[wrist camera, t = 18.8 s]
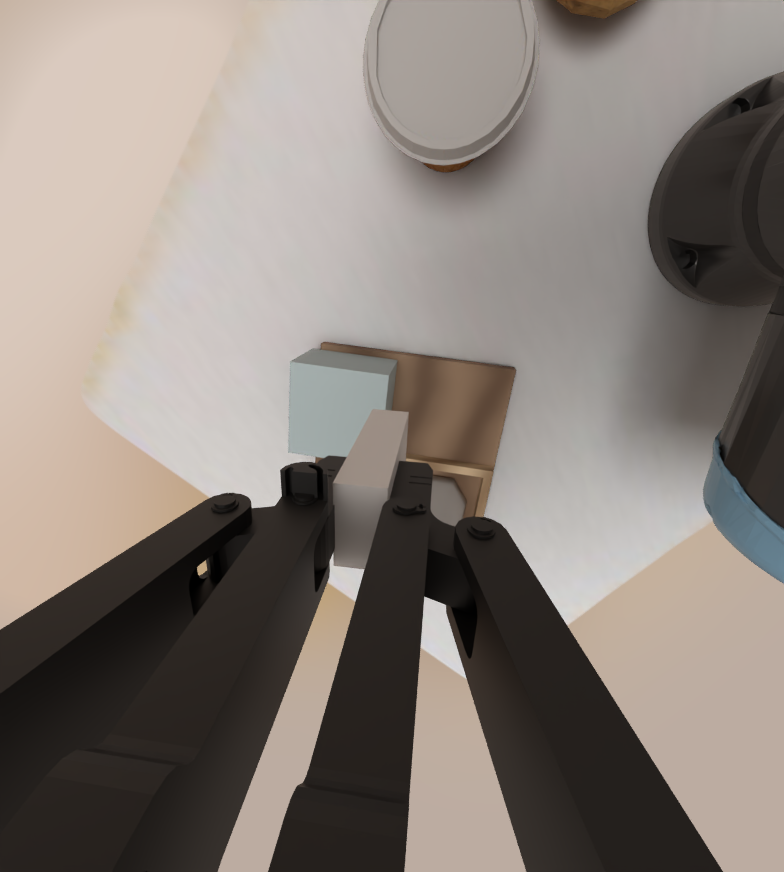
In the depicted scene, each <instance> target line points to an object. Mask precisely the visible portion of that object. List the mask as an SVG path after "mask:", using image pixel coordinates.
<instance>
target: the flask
mask: <svg viewBox="0 0 784 872" xmlns="http://www.w3.org/2000/svg"><path fill="white" fill-rule="evenodd" d="M466 503H467V501H466V499H465V497H464V496H463V494H462V492H461V490H460V488H459V487H458V485H457V483H456V481H455V479H451V478H445V477H440V476H434V475H433V479H432V493H431V512H432V514H433V515H434V516H435V517H436V518H437V519H439V520H440V521H442V522H444V523H447V524H449V525H452V526H456V524H457V523H458V521H459V520H461V519H463V517H464V512H465V508H466Z"/></svg>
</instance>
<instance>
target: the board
mask: <svg viewBox="0 0 784 872" xmlns="http://www.w3.org/2000/svg"><path fill="white" fill-rule="evenodd" d="M321 350H328V351H335V352H343V353H350V354H357V355H365V356H372V357H379V358H387V359H394V360H398V361H397V370H396V378H395V387H394V395H393V404H392V411H403V412H409V416H408V433H407V449H406V461H409V462H420V463H428V464H429V466H430V467H431V468H432V469H433V475H434V476H440V477H445V478H451V479H455V481H456V483H457V485H458V487H459V488H460V490H461V492H462V494H463V496H464V497H465V499H466V501H467V503H466V508H465V512H464V517H463V518H466V517H473V516H475V517H483V516H484V511H485V507H486V503H487V498H488V494H489V489H490V485H491V480H492V476H493V470H494V466H495V461H496V457H497V452H498V448H499V444H500V439H501V435H502V430H503V426H504V421H505V417H506V412H507V408H508V404H509V399H510V395H511V390H512V386H513V381H514V377H515V373H516V370H515V368H514V367H507V366H499V365H492V364H485V363H477V362H470V361H462V360H455V359H447V358H440V357H433V356H425V355H418V354H410V353H403V352H396V351H388V350H381V349H373V348H366V347H358V346H351V345H344V344H336V343H329V342H323V343H322V344H321ZM321 459H323V458H320V457H316V461H315V463H318V461H319V460H321Z"/></svg>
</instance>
